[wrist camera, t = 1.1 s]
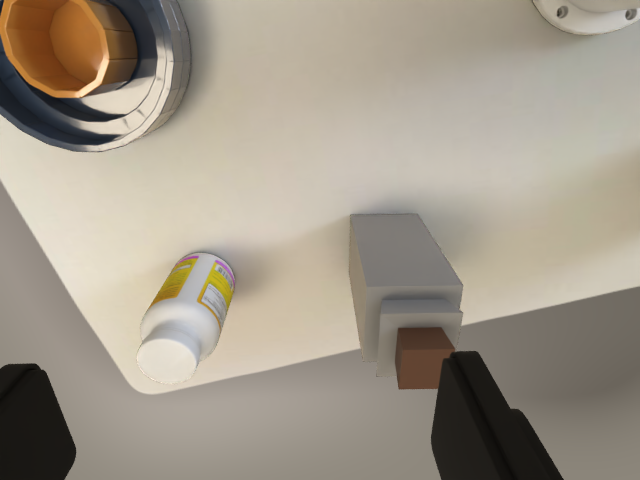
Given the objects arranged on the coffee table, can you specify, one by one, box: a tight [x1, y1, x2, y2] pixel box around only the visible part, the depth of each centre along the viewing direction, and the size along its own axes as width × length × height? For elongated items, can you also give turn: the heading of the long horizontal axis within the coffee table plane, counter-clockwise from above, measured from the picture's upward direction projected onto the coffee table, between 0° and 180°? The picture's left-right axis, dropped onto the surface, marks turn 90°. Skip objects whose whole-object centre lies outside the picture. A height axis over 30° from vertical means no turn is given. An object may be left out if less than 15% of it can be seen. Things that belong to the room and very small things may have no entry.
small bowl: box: [0, 0, 138, 98], centre depth 30 cm, size 7×7×6 cm
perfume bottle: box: [349, 214, 463, 389], centre depth 33 cm, size 7×7×18 cm
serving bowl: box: [0, 0, 191, 152], centre depth 31 cm, size 16×16×5 cm
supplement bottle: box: [137, 253, 235, 384], centre depth 37 cm, size 7×7×13 cm
